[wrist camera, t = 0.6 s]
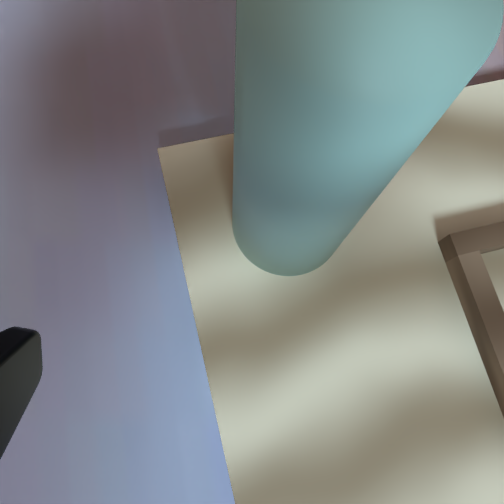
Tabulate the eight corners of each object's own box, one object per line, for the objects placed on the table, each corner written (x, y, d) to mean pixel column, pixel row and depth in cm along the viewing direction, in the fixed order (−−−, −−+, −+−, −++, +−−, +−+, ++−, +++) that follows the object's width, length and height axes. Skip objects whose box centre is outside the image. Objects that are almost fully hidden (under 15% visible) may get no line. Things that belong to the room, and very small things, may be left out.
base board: (746, 431, 21) (819, 438, 18) (255, 586, 18) (259, 619, 16) (569, 80, 26) (606, 46, 23) (161, 163, 23) (153, 135, 21)
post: (355, 261, 21) (546, 75, 8) (247, 287, 20) (276, 129, 8) (323, 163, 22) (447, -128, 10) (220, 184, 21) (210, -94, 9)
